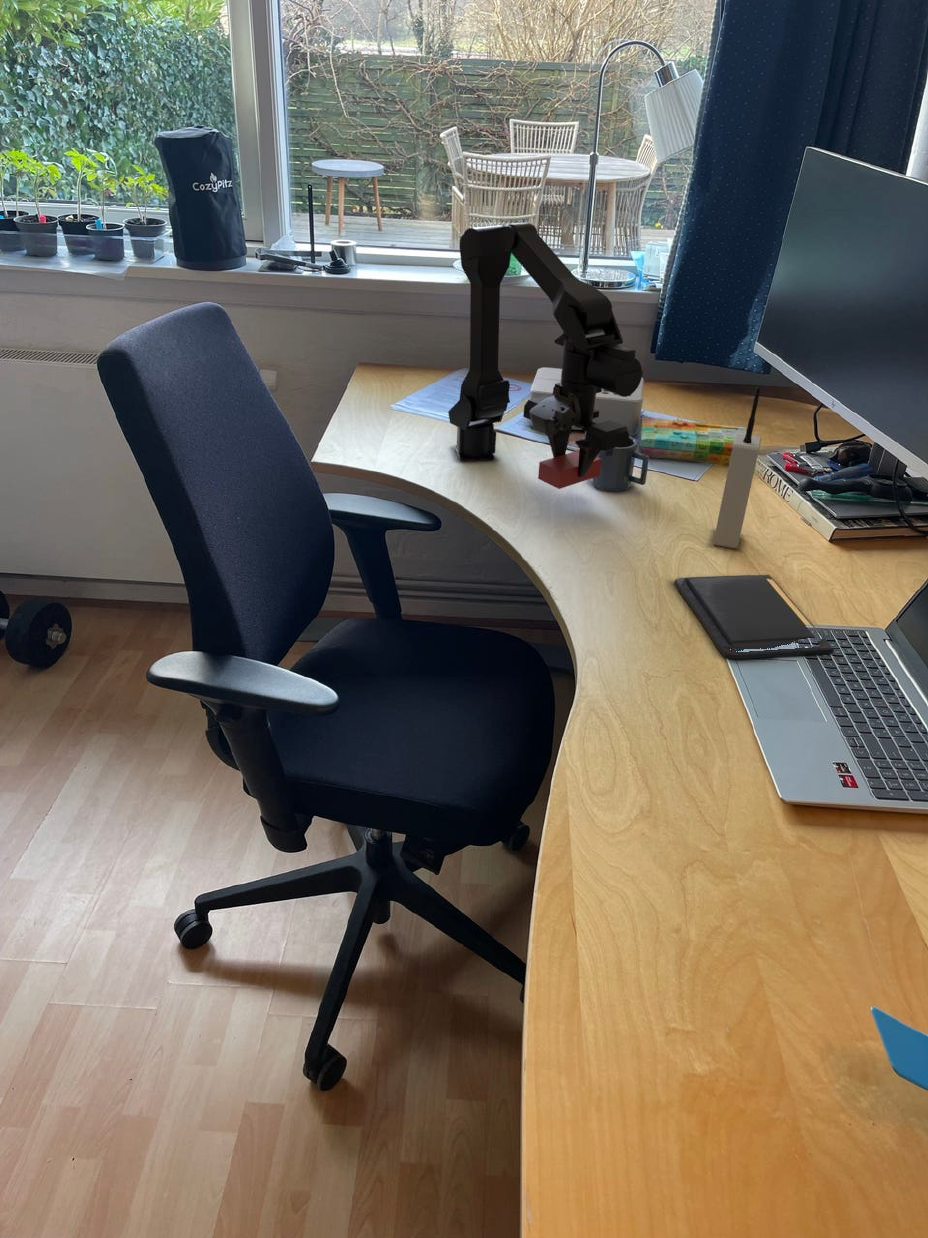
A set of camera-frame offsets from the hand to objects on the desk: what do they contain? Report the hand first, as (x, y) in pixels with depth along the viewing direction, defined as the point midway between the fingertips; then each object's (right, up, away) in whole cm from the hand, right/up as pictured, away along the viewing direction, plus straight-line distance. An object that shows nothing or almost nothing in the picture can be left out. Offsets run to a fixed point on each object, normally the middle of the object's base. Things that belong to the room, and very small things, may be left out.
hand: (569, 471), depth 152 cm
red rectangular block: (0, -1, +1) cm, 1 cm away
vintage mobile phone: (+24, -12, -7) cm, 28 cm away
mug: (+10, -1, +10) cm, 14 cm away
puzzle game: (+26, +7, +24) cm, 37 cm away
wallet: (+22, -24, -26) cm, 42 cm away
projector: (+7, +17, +38) cm, 42 cm away
